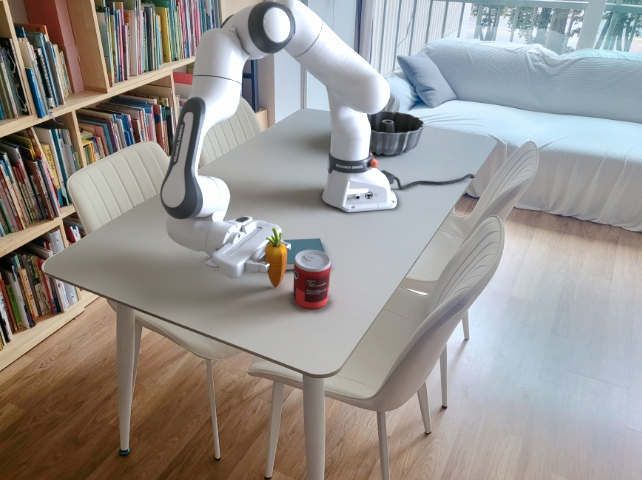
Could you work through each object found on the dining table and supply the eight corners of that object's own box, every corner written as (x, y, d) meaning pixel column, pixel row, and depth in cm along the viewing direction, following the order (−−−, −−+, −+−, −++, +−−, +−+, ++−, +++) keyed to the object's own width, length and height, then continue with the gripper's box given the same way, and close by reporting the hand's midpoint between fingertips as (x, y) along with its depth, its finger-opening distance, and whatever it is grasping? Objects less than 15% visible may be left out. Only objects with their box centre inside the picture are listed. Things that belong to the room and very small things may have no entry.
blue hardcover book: (319, 245, 136) (320, 238, 135) (327, 268, 127) (327, 261, 126) (266, 247, 135) (266, 240, 133) (269, 271, 126) (269, 264, 124)
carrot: (284, 294, 118) (285, 237, 110) (262, 292, 119) (262, 235, 110) (288, 282, 122) (289, 226, 114) (267, 279, 123) (267, 223, 114)
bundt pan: (334, 145, 195) (336, 119, 190) (379, 130, 210) (382, 105, 204) (390, 167, 180) (394, 139, 174) (434, 149, 194) (439, 122, 189)
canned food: (304, 285, 121) (306, 245, 115) (334, 298, 117) (338, 257, 111) (286, 302, 116) (286, 260, 110) (316, 315, 112) (318, 273, 106)
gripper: (198, 250, 112) (253, 268, 106) (250, 212, 127) (300, 226, 121) (201, 274, 115) (254, 293, 110) (251, 234, 130) (299, 249, 125)
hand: (278, 258), depth 116 cm, fingers open, 8 cm apart
